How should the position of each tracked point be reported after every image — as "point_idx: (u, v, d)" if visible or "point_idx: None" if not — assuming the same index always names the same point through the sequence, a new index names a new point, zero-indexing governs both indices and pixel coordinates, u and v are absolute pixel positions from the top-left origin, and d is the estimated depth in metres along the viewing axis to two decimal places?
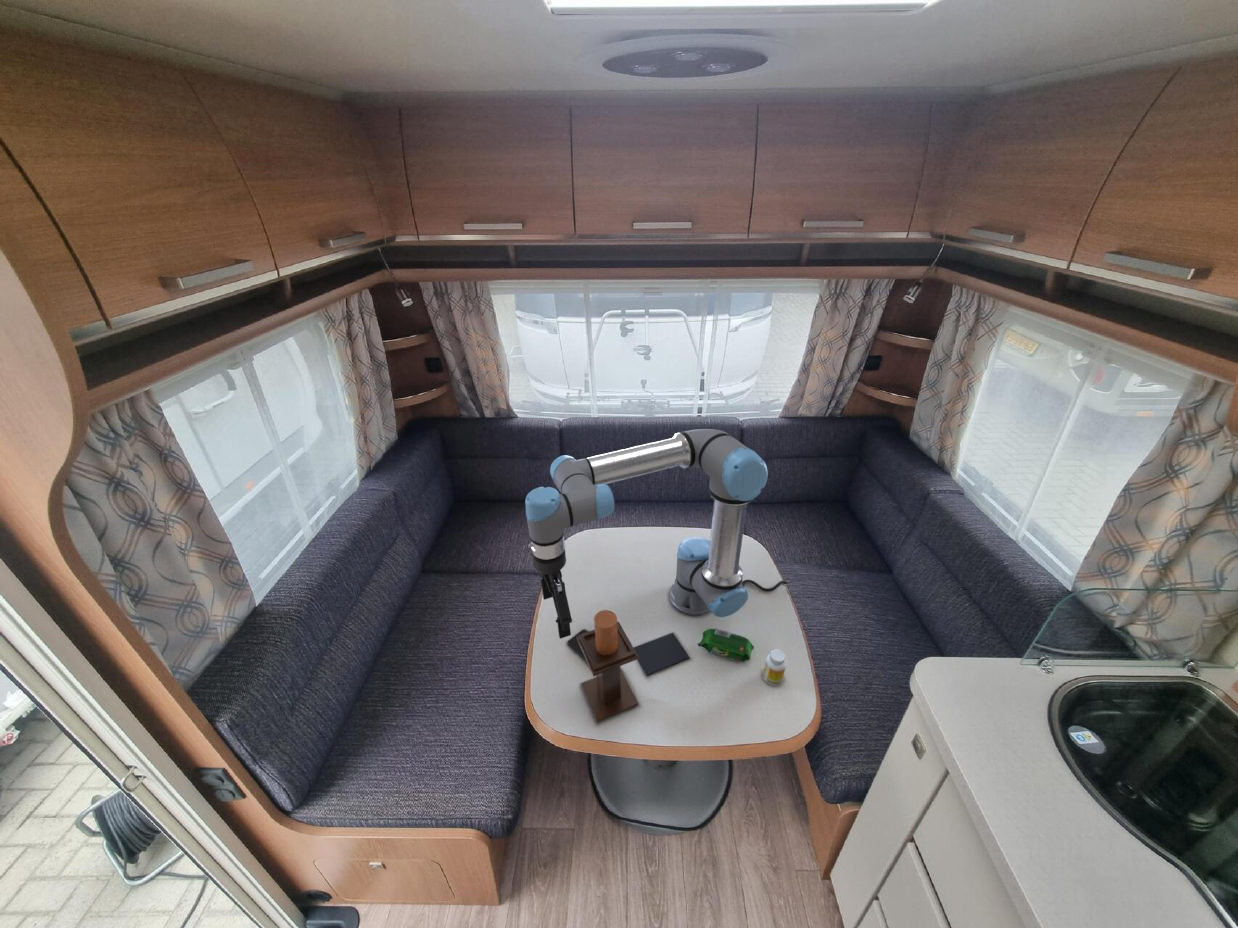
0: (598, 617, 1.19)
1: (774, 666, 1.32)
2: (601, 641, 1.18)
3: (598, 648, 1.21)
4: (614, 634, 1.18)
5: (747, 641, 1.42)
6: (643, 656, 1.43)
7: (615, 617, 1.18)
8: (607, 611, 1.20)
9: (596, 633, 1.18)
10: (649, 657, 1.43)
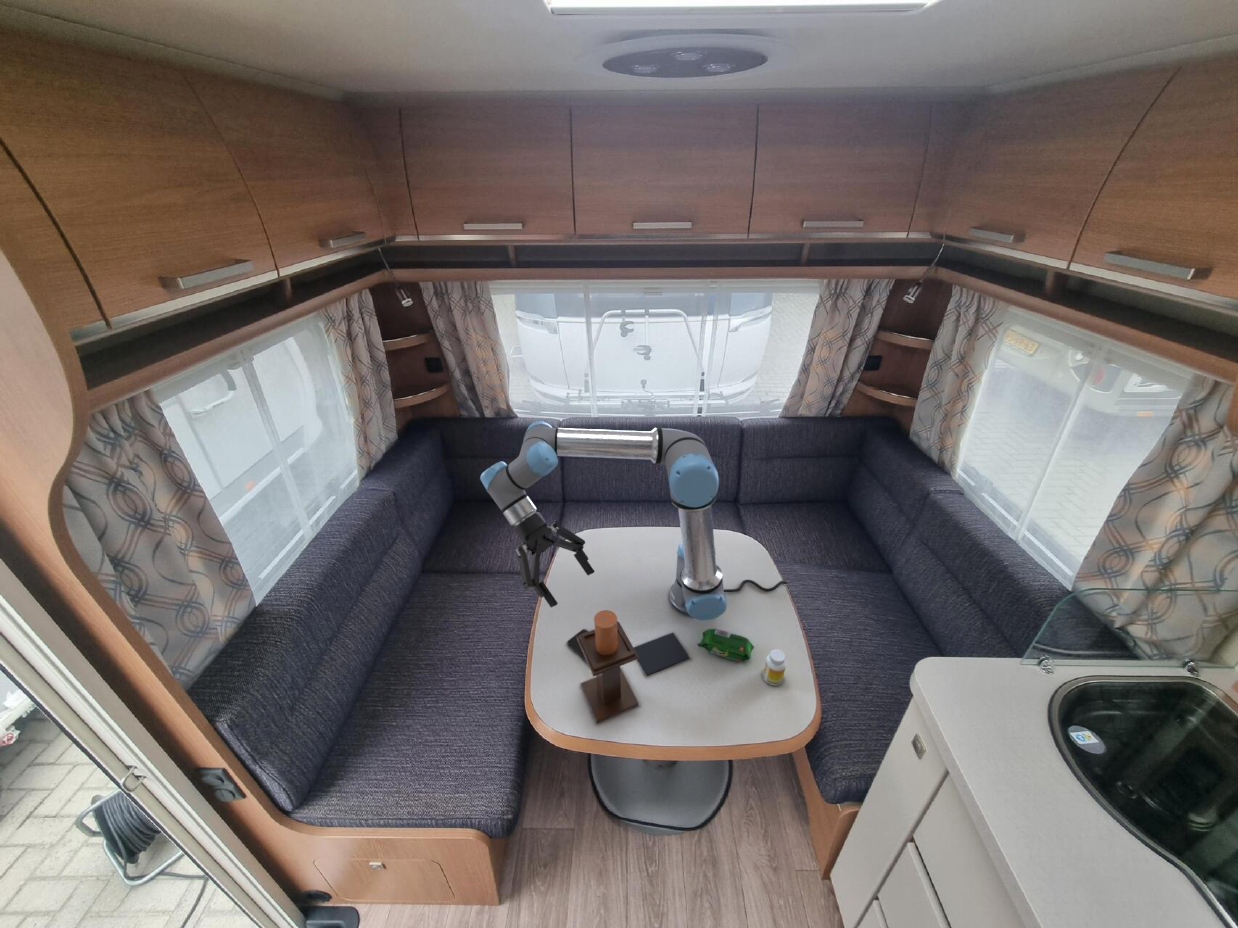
0: (598, 617, 1.19)
1: (774, 666, 1.32)
2: (601, 641, 1.18)
3: (598, 648, 1.21)
4: (614, 634, 1.18)
5: (747, 641, 1.42)
6: (643, 656, 1.43)
7: (615, 617, 1.18)
8: (607, 611, 1.20)
9: (596, 633, 1.18)
10: (649, 657, 1.43)
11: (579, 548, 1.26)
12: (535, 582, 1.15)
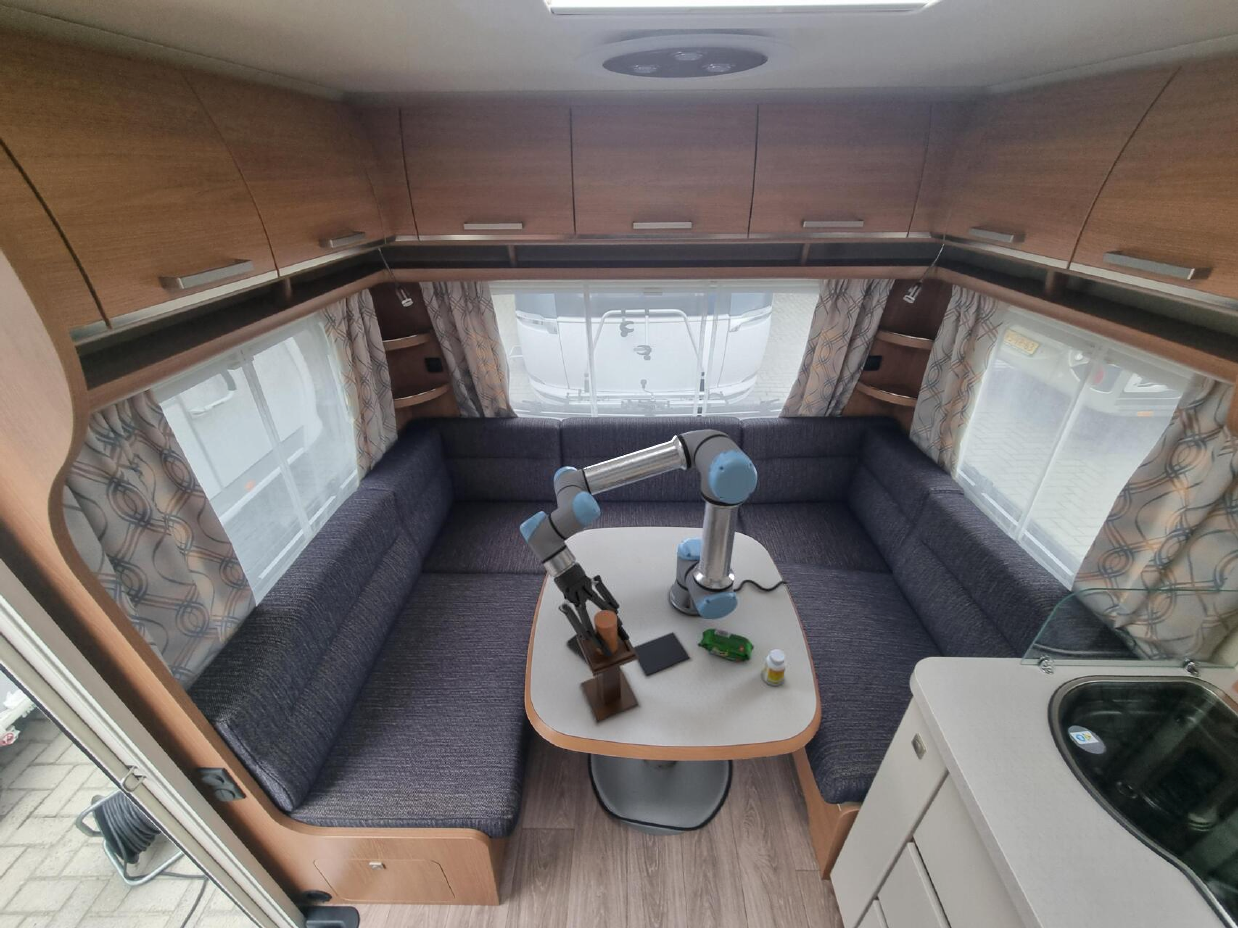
0: (598, 617, 1.19)
1: (774, 666, 1.32)
2: None
3: (598, 648, 1.21)
4: (614, 634, 1.18)
5: (747, 641, 1.42)
6: (643, 656, 1.43)
7: (615, 617, 1.18)
8: (607, 611, 1.20)
9: None
10: (649, 657, 1.43)
11: None
12: (592, 634, 1.16)
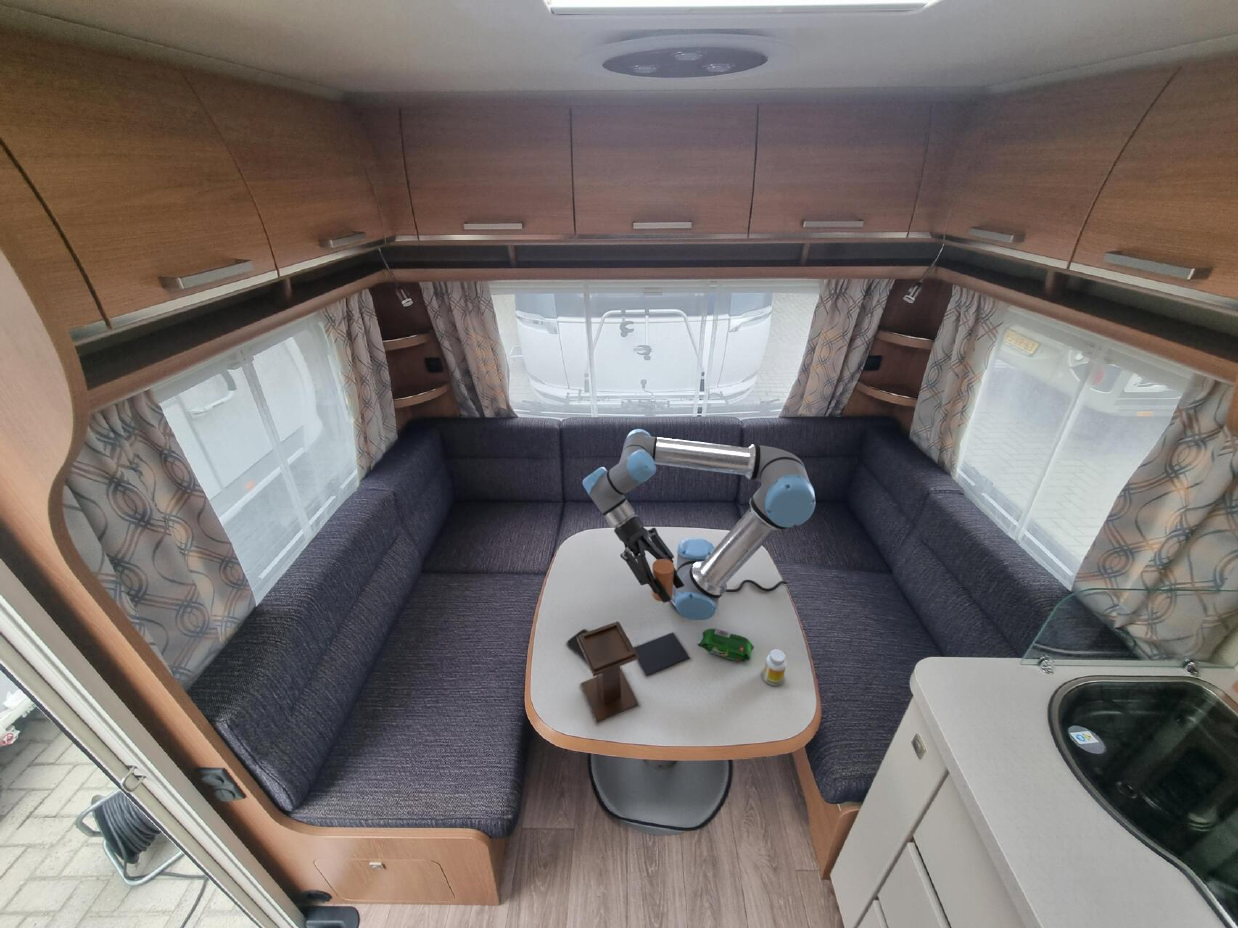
0: (656, 564, 1.27)
1: (774, 666, 1.32)
2: None
3: (655, 594, 1.29)
4: (671, 580, 1.27)
5: (747, 641, 1.42)
6: (643, 656, 1.43)
7: (672, 564, 1.27)
8: (664, 560, 1.29)
9: None
10: (649, 657, 1.43)
11: None
12: (651, 580, 1.25)
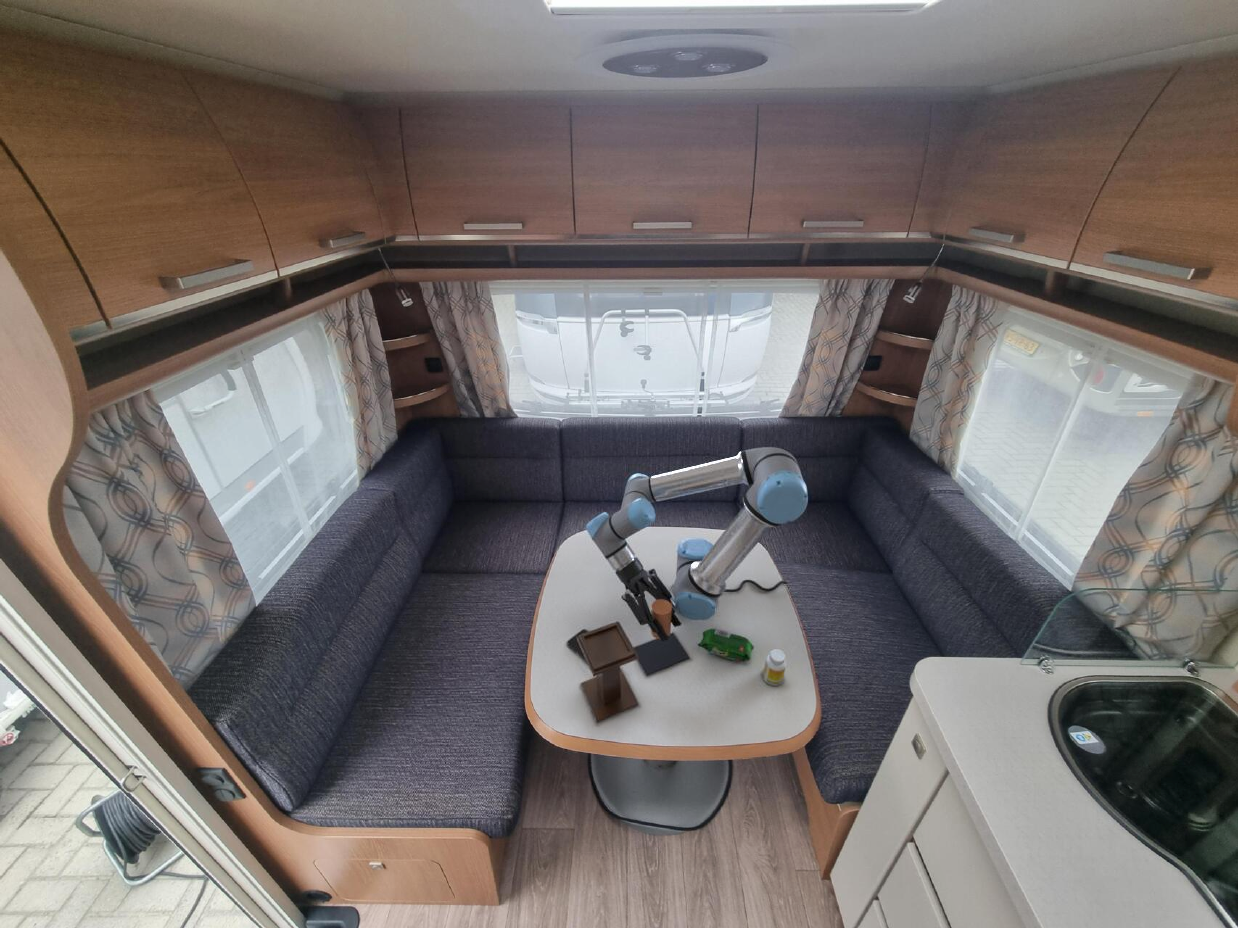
0: (655, 605, 1.35)
1: (774, 666, 1.32)
2: None
3: (654, 633, 1.37)
4: (669, 620, 1.35)
5: (747, 641, 1.42)
6: (643, 656, 1.43)
7: (670, 605, 1.35)
8: (662, 600, 1.36)
9: None
10: (649, 657, 1.43)
11: None
12: (650, 620, 1.33)
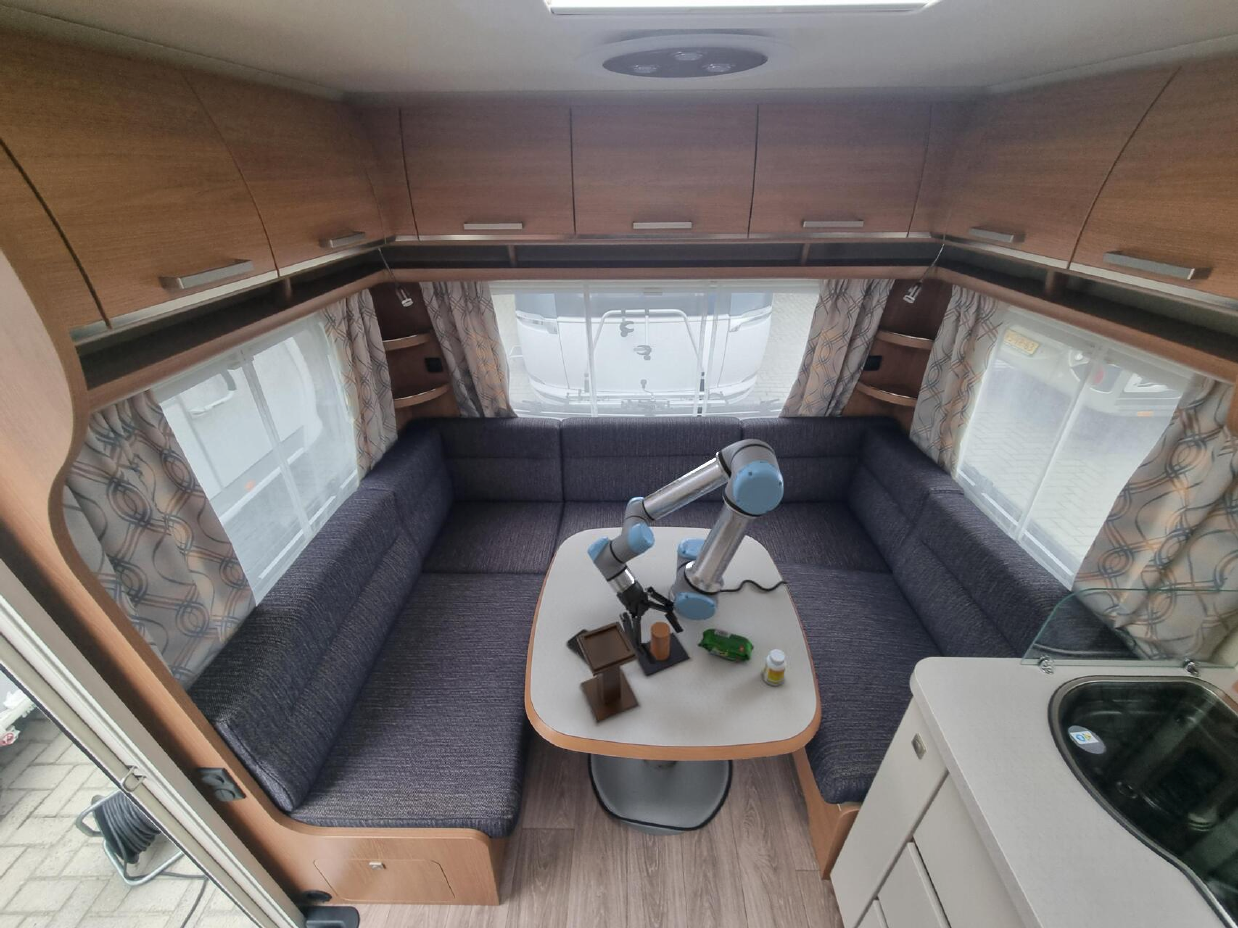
0: (654, 627, 1.40)
1: (774, 666, 1.32)
2: (657, 648, 1.39)
3: (653, 654, 1.42)
4: (668, 642, 1.39)
5: (747, 641, 1.42)
6: None
7: (669, 628, 1.39)
8: (661, 623, 1.41)
9: (652, 641, 1.40)
10: None
11: (670, 610, 1.45)
12: (639, 643, 1.35)
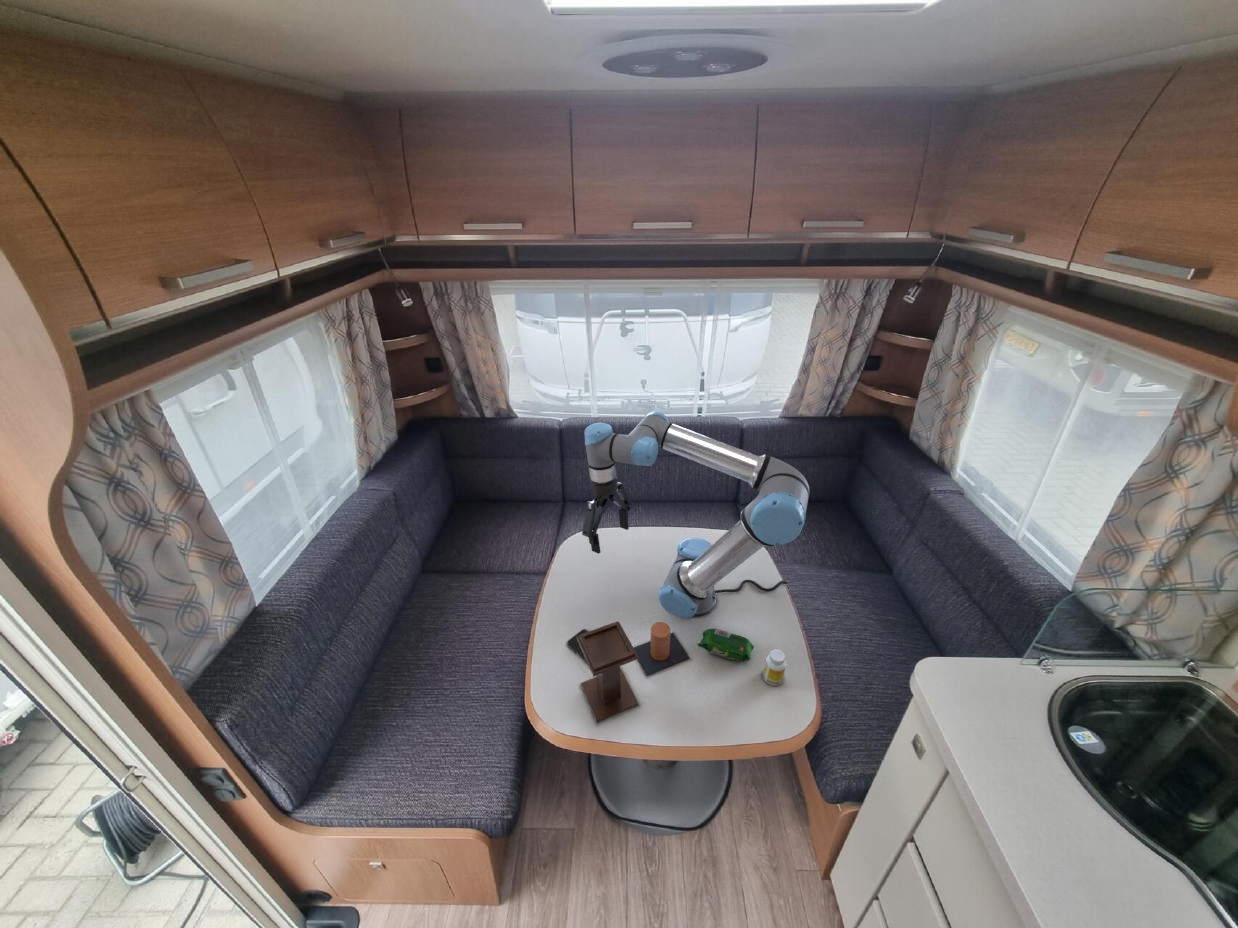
0: (654, 627, 1.40)
1: (774, 666, 1.32)
2: (657, 648, 1.39)
3: (653, 654, 1.42)
4: (668, 642, 1.39)
5: (747, 641, 1.42)
6: (643, 656, 1.43)
7: (669, 628, 1.39)
8: (661, 623, 1.41)
9: (652, 641, 1.40)
10: (649, 657, 1.43)
11: (627, 508, 1.46)
12: (593, 534, 1.36)
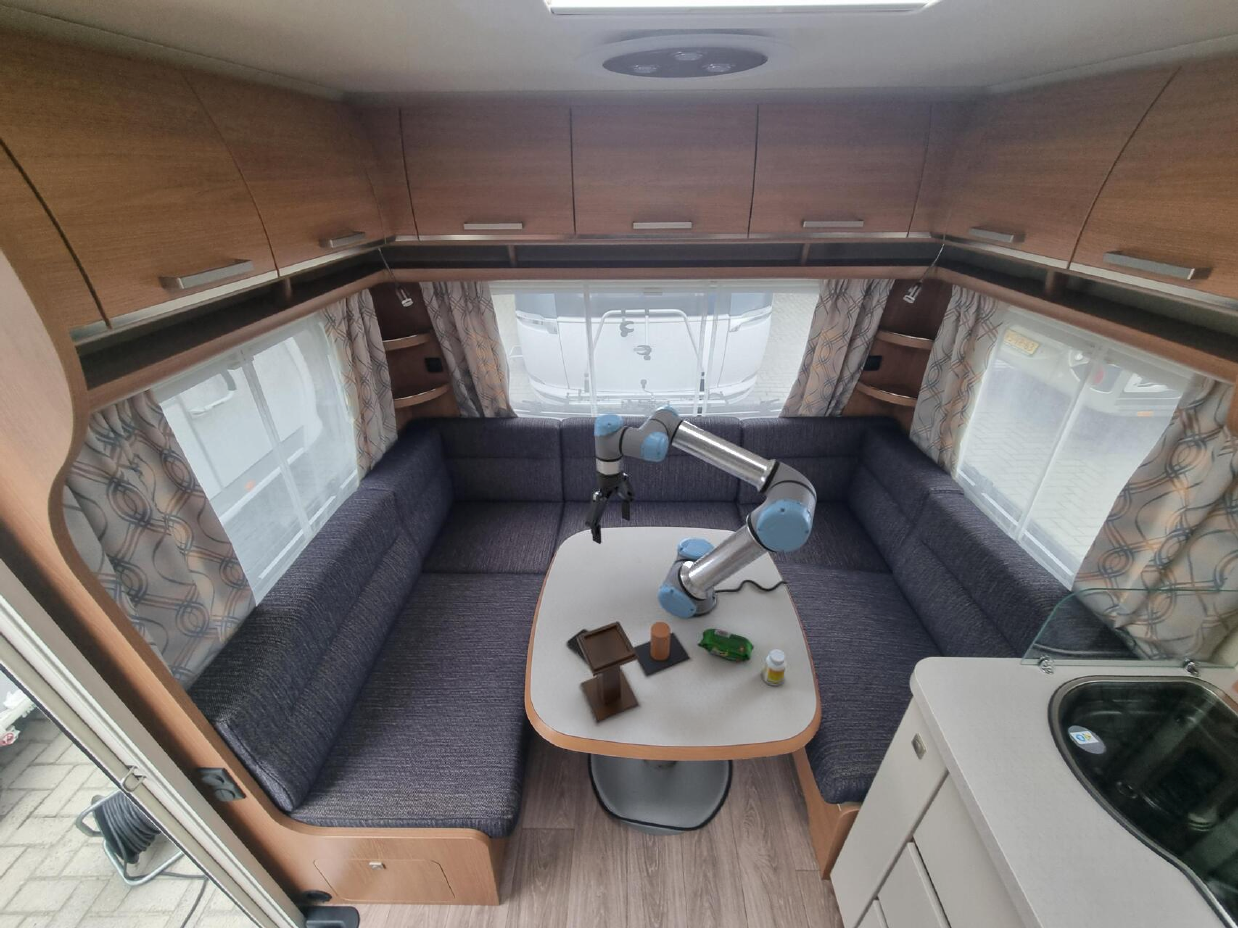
0: (654, 627, 1.40)
1: (774, 666, 1.32)
2: (657, 648, 1.39)
3: (653, 654, 1.42)
4: (668, 642, 1.39)
5: (747, 641, 1.42)
6: (643, 656, 1.43)
7: (669, 628, 1.39)
8: (661, 623, 1.41)
9: (652, 641, 1.40)
10: (649, 657, 1.43)
11: (630, 500, 1.45)
12: (596, 525, 1.35)
